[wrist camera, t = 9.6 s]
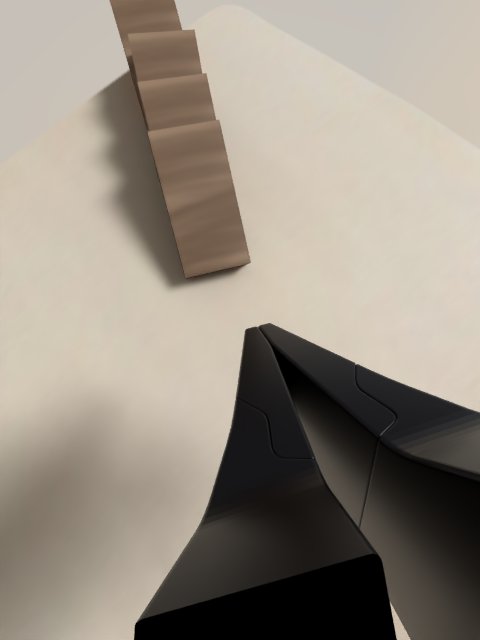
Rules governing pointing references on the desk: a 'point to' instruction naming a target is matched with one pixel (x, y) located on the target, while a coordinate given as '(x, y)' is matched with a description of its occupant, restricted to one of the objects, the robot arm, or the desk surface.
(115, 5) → the domino
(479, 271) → the desk surface
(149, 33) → the domino
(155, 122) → the domino
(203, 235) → the domino
